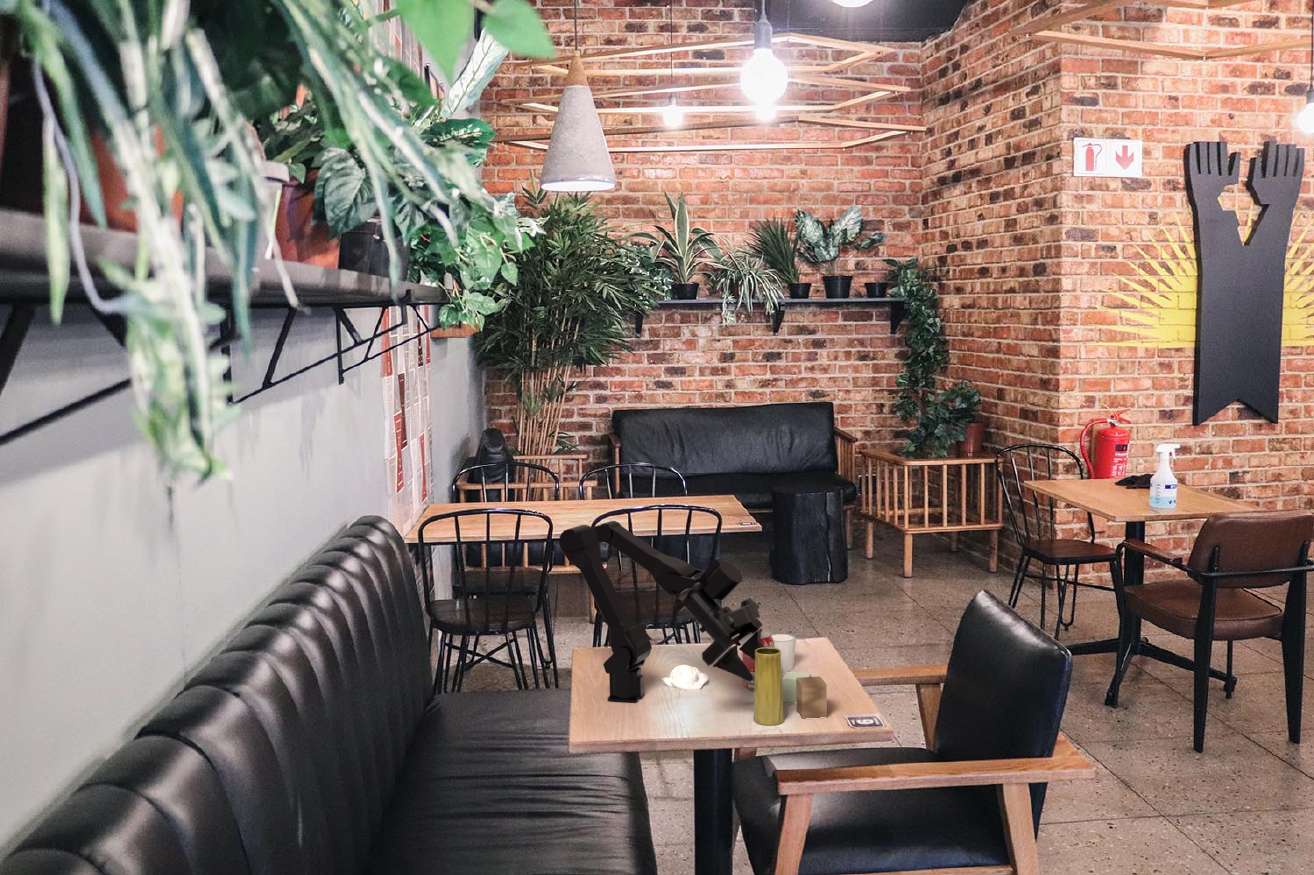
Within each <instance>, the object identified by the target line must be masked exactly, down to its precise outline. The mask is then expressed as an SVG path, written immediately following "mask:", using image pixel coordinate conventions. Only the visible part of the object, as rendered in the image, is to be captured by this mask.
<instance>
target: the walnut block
mask: <svg viewBox="0 0 1314 875" xmlns="http://www.w3.org/2000/svg"><path fill="white" fill-rule="evenodd" d="M827 687H828V685H827V683H826V682H825V681H824V679H823V678H822V677H821V676H811V677H801V678H796V700H797V703H796V712H797V714H798V715H799V714H800V715H799V717H800V716H801V717H800V718H801V719H803V720H807V719H806V718H820V717H827V718H828V711H827V709H828V707H827V706H828V704H827V703H828V702H827V701H828V697H827V692H828V691H827V690H828V689H827ZM820 719H821V718H820Z"/></svg>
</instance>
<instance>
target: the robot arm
mask: <svg viewBox="0 0 1314 875" xmlns="http://www.w3.org/2000/svg"><path fill="white" fill-rule="evenodd" d="M557 543H558V545H559V549H560V550H561V552H562V554H564V557H565V558H566V559H567V561H568V562H569V563H571V564H572V565H573V566H574V567H576V568H577V569H578V570H579V571H580V573H581V575H582V577H583V579H584V580H585V583H586V585H587V587H588V589H589V591H590V593H591V595H592V597H593V599H594V601H595V603H596V605H597V607H598V609H599V611H600V613H601V615H602V617H603V620H604V621H605V623H606V626H607V627H608V629H609V646H610V648H611V651H612V654H611V655H610V657H608V658H606V660H605V661H604V663H603V664H602V665H603V669H604V671H605V674H608V676H609V679H608V680H609V696H608V697H607V701H608V702H609V701H610V702H622V703H623V702H624V703H625V702H626V703H637V702H638V701H639V700H640V698H641V697H643V694H644V693H645V689H644V686H645V685H644V684H645V683H644V675H643V674H642V666H644V665H645V663H646V662H645V661H646V660H647V658H648V657H649V656H650V655H651V653H652V652H651V651H652V643H651V640H652V637H651V636H650V635H649V634H648V632H647V630H646V626H645V624H644V623H642V622H640V623H638V624H636V623H635V622H634V621H633V620H632V619H630V616H629V615H628V613H627V611H626V609H625V607H624V605H623V602H622V601H621V599H620V596H619V595H618V593H617V591H616V588H615V586H614V585H613V583H612V581H611V579H610V576H609V575H608V573H607V571H606V568H605V567H604V565H603V563H602V560H601V546H600V543H607V544H608V545H610V546H611V547H612V548H614V549H615V550H617V552H618V551H619V552H620V553H621V554H623V555H624V556H625V557H627V558H628V559H630V560H631V561H632V562H634V563H636V564H637V565H638V566H640V568H641V567H642V568H643V569H645V570H646V571H647V572H648V573H649V574H650V576H651V577H652V579H653V580H654V582H655V584H656V585H658V586H659V587H660V588H661V589H662V591H664V592H665V593H666V594H668V595H669V596H671V595H672V596H677V595H680V594H682V593H683V592H685V591H688V590H689V591H688V592H686V594H685V595H684V596H679V597H677V598H675V600H676V601H675V602H676V605H675V613H679V612H681V611H683V610H685V609H686V610H687V611H688V613H690V615H691V616H692V617H693V618H694V619H695V620H696V622H697V623H698V624H699V626H700V628H699V629H698V630H699V631H700V632H701V634H703V633H705V632H706V633H707V635H708V636H709V637H710V638H711V639H712V640H713V642H711V643H710V645H708V646H707V648H705V649H704V650H703V651H702V653H701V660H702V661H703V663H704V664H705V665H706V666H707V667H710V666H712V667H713V668H718V669H720V670H723V671H725V672H727V673H730V674H732V675H734V676H735V677H736V676H737V677H738V678H740V679H742V680H743V679H745V680H747V681H749V682H750V681H751V680H752V679H753V676H752V674H751V673H750V671H749V670H748V668H747V667H746V666H745V664H744V663H743V659H741V657H740V656H739V652H738V650H739V651H741V652H743V653H745V654H746V655H748V656H749V657H751V658H752V659H754V660H755V650H756V649H758V648H762V647H763V645H762V643H761V632H762V630H763V629H762V627H763V623H762V622H761V621H760V620H759V619H758V618H760V617H761V616H760V615H761V614H760V612H759V609H760V605H759V604H757V603H756V601H754V600H753V599H752V598H751V597H749V598H746V599H744V600H742V601H741V602H740V607H738V608H736V609H734V610H732V609H731V608H730V607H729V606H727V605H726V606H724V607H722V606H721V604H720V603H719V601H723V600H724V601H725V599H726V598H727V597H729V595H730V594H731V593H732V592H733V591H734V590H735V589H736V588H737V587H738V586H739V585H740V584H741V583H742V582H743V576H742V573H741V571H740V570H739V569H738V568H737V567H736V566H734V565H733V564H731V563H730V562H728V561H726V560H725V561H724V560H723V559H722V557H718V558H716V559H714V561H712V562H711V565H710V566H709V567H708V568H707V569H706V570H705V569H704V570H703V569H698V568H695V567H694V566H693V565H692V564H691V563H689V562H686V561H685V560H683V559H681V558H678V557H674V556H671V555H667V554H664V553H662V552H660V551H659V550H658V549H656V548H654V547H653V546H652V545H651V544H648V543H647V542H646V541H644V540H643V539H641V538H640V537H639V536H637V535H636V534H634V533H632V532H631V531H629V530H628V529H626V528H625V527H624V526H622V524H621V523H620V522H619V521H616V520H610V521H607V522H603V523H601V524H599V525H595V526H589V525H588V524H580V525H577V526H574V527H571V528H567V529H565V530H563V531H562V532H561V533H560V535H559V540H558V542H557ZM698 585H699V587H698V588H696V589H695V588H694V587H696V586H698ZM717 600H719V601H717ZM738 647H739V648H738Z"/></svg>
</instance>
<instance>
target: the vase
mask: <svg viewBox="0 0 1314 875" xmlns="http://www.w3.org/2000/svg"><path fill="white" fill-rule="evenodd" d="M782 678H783V676H782V671H781V650H780V649H778V648H773V647H762V648H758V649H756V650H755V690H754V704H753V706H754V710H753V721H754V722H755V723H756V724H759V725H761V726H778V725H780V724H782V723H783V722H784V721H785V716H784V701H783V695H782Z"/></svg>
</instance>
